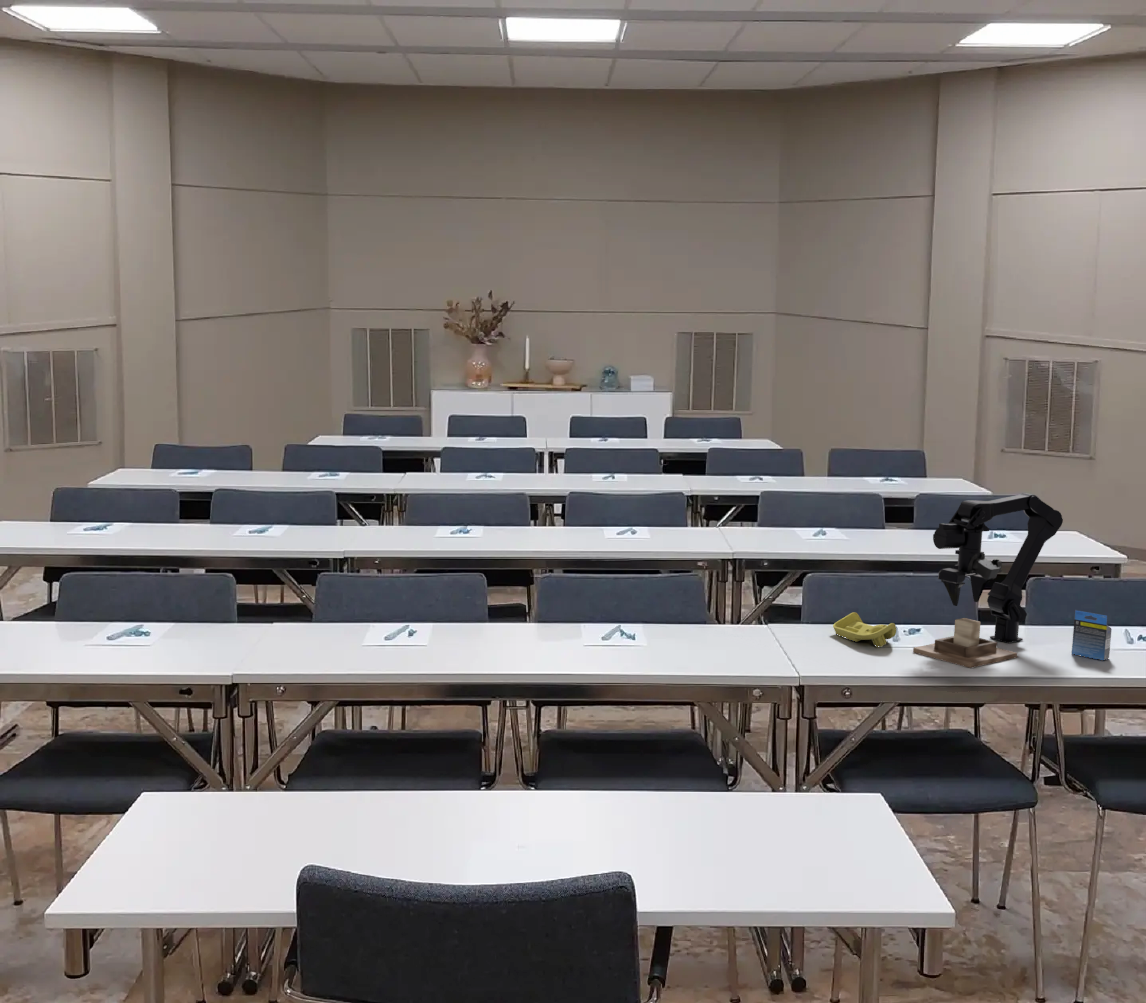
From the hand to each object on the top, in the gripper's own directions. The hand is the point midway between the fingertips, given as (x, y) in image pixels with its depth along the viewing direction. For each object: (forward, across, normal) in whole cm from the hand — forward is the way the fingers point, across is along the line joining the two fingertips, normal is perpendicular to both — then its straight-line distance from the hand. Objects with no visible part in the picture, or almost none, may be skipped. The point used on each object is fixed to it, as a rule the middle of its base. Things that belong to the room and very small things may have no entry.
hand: (965, 603), depth 350 cm
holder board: (+11, -10, -8) cm, 17 cm away
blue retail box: (+11, +18, -27) cm, 34 cm away
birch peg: (+10, -10, -8) cm, 16 cm away
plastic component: (+12, -22, +16) cm, 29 cm away
